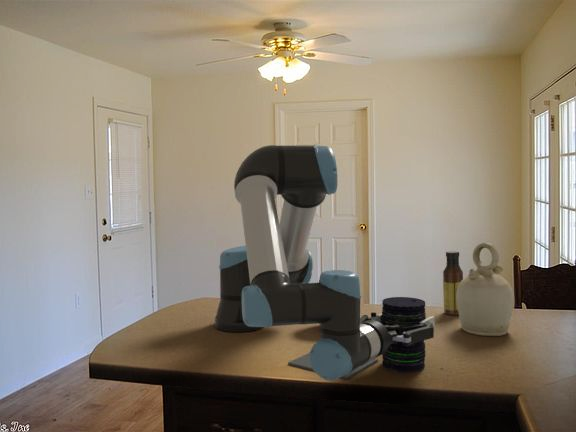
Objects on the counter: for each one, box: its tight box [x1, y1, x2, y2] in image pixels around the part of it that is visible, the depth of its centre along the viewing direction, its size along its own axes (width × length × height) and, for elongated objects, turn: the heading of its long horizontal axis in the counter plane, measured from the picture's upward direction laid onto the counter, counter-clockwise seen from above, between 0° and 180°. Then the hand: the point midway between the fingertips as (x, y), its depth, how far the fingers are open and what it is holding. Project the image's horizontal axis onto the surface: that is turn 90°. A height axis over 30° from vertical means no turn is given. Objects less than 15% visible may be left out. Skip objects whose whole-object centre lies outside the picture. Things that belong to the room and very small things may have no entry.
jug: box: [456, 242, 515, 337], centre depth 153 cm, size 15×16×25 cm
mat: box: [287, 352, 379, 380], centre depth 128 cm, size 16×14×1 cm
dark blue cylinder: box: [381, 296, 427, 374], centre depth 125 cm, size 10×10×15 cm
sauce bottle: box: [442, 250, 464, 316], centre depth 173 cm, size 7×6×20 cm
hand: (411, 318), depth 128 cm, fingers closed on dark blue cylinder, 10 cm apart
